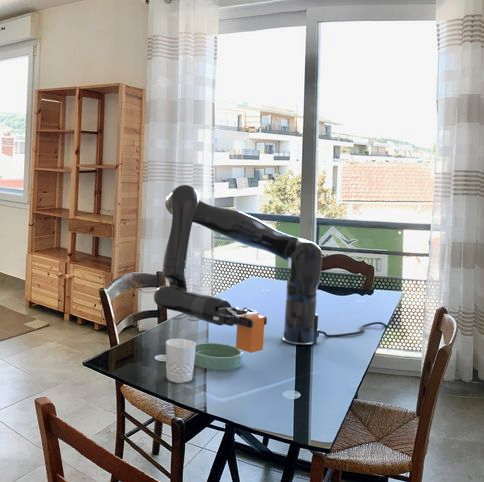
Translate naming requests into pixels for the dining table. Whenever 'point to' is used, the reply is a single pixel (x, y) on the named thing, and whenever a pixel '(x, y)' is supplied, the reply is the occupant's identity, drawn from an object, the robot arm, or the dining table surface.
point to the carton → (251, 333)
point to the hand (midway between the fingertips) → (258, 322)
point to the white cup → (180, 360)
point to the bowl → (217, 356)
